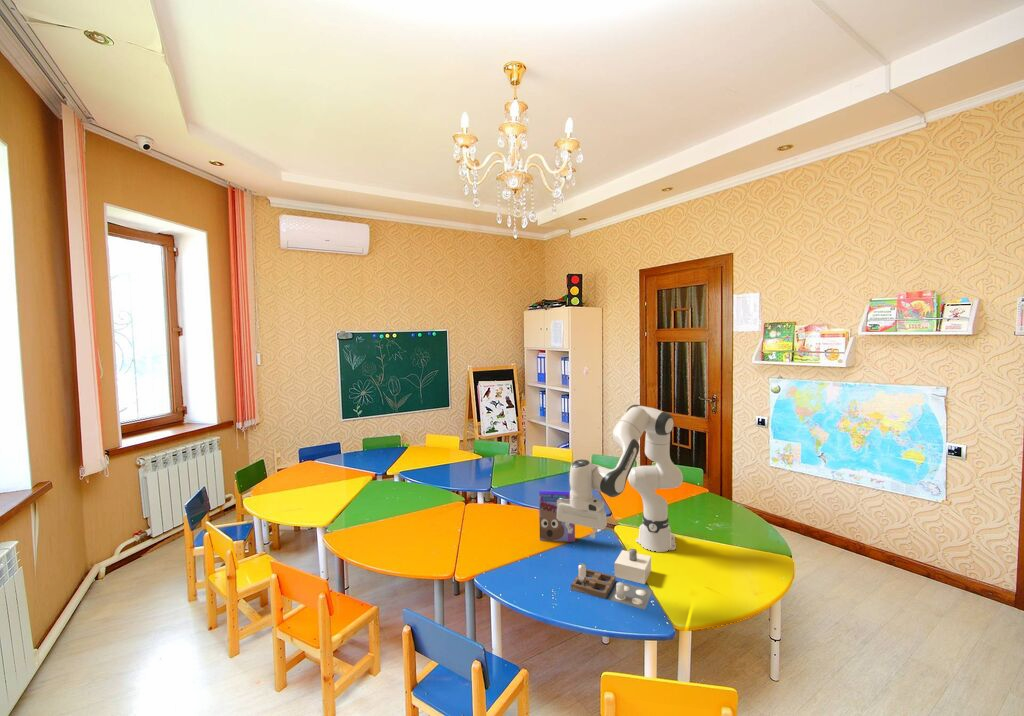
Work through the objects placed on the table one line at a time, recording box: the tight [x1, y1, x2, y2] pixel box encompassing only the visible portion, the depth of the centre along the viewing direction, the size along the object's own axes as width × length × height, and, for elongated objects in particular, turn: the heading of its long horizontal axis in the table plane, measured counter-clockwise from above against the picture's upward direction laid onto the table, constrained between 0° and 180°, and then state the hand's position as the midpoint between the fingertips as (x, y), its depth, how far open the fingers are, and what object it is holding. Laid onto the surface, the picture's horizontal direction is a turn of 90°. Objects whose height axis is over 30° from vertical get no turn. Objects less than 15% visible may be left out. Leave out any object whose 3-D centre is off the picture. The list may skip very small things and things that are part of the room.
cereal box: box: [538, 490, 576, 543], centre depth 222 cm, size 17×5×24 cm, turn 81°
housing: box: [614, 548, 652, 585], centre depth 187 cm, size 12×12×11 cm
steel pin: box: [577, 562, 587, 586], centre depth 177 cm, size 3×3×10 cm
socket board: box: [570, 568, 616, 600], centre depth 179 cm, size 14×14×3 cm
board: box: [607, 581, 654, 611], centre depth 172 cm, size 14×14×6 cm
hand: (581, 535), depth 177 cm, fingers open, 8 cm apart
